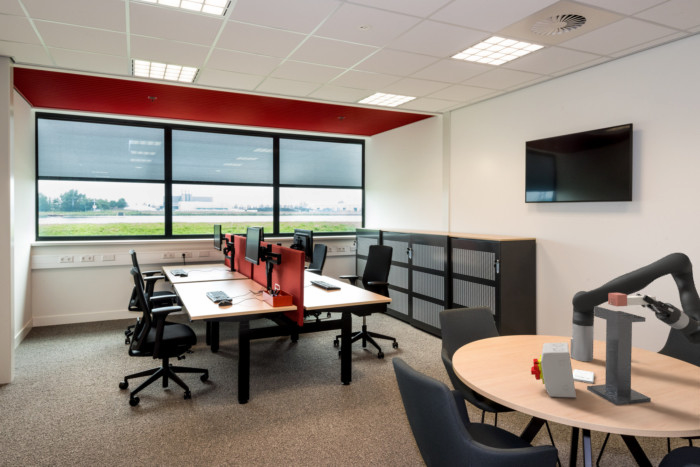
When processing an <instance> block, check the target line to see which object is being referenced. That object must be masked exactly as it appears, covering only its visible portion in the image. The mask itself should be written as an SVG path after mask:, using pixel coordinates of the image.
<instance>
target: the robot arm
mask: <svg viewBox="0 0 700 467" xmlns="http://www.w3.org/2000/svg"><path fill="white" fill-rule="evenodd" d="M693 272H694V271H693V263H692V261H691V259H690V258H689V256H688V255H686V254H685V253H683V252H673V253H670V254H667V255H665V256H664V257H663V256H662V257H661V258H660V259H657V260H655V261H653V262H651V263H650V264H648V265H645V266H642V267H640V268H637V269H635V270H632V271H629V272H626V273H625V274H622V275H620V276H617V277H615V278H613V279H611V280H609V281H608V282H605V283H604V284H602V285H600V286H599V287H597V288H594V289H591V290H588V291H585V290H580V291H578V292H576V293H575V294H574V295H573V298H572V300H571V303H572V324H571V326H572V329H571V330H572V337H571V338H570V348H569V354H570V359H571V358H572V359H573V360H576V361H580V362H581V361H582V362H592V361H593V362H594V333H595V332H594V330H595V329H594V324H595V323H594V322H595V316H594V306H598V307H600V306H601V305H602V304H604V303H607V302H608V293H622V294H626V295H627V296H631V295H632V294H635V293H636V295H635V296H642V294H640V293H639V292H640V291H642V290H644V289H645V288H647V287H648V286H649V285H650V284H651V283H653V282H654V281H655V280H657V279H659V278H662V277H664V276H667V275H671V277H672V279H673V280H674V282H675V285H676V287H677V290H678V296H679V302H680V306H681V309H682V310H681V309H679V308H678V307H676V306H675V305H673V304H671V302H665V303H664V302H663V301H660V300H657V299H656V300H655V299H652V298H650V297H649V296H647V295H648V294H644V297H643V300H644V301H645V302H647V303H649V304H647V305H640V306H641V307H642V308H647V309H649V310H650V311H651V312H653V313H654V315H655V317H656V318H657V319H658V320H659V321H661V322H663V323H664V324H666V325H667V326H669V327H671V328H673V329H675V330H676V331H678V332H680V333H681V334H682V335H683V337H684V338H685V339H686V340H687V342H689V344H692V345H700V324H699V323H700V295H699V293H698V291H697V289H696V284H695V280H694V273H693Z"/></svg>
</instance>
